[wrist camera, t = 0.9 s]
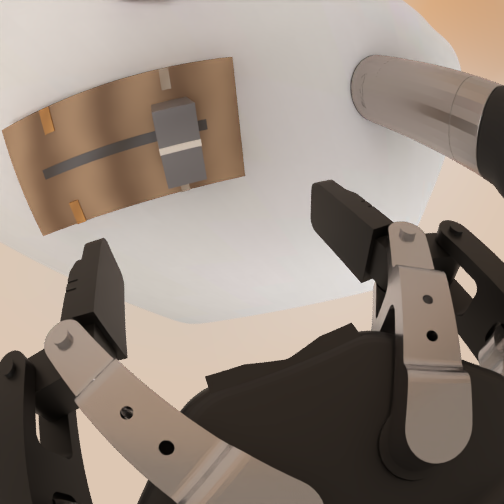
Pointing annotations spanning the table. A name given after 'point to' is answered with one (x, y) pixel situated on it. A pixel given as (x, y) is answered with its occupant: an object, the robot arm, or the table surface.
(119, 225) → the table surface
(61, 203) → the fader base
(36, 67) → the table surface
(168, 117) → the fader cap
